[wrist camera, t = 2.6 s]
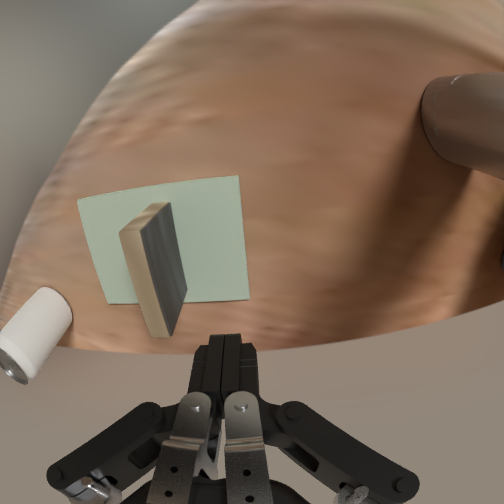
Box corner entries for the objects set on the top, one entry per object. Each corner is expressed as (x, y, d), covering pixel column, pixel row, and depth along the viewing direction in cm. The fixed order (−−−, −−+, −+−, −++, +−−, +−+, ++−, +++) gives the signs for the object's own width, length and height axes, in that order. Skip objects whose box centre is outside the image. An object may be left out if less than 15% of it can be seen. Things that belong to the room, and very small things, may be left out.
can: (31, 289, 28) (-18, 343, 17) (57, 281, 27) (2, 343, 16) (54, 326, 30) (14, 385, 19) (82, 322, 30) (40, 389, 19)
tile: (170, 201, 23) (141, 229, 16) (187, 289, 26) (172, 337, 20) (151, 203, 23) (118, 232, 16) (171, 290, 27) (151, 337, 20)
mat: (238, 175, 22) (238, 176, 22) (249, 295, 28) (249, 299, 27) (79, 198, 23) (76, 200, 22) (110, 300, 28) (108, 303, 27)
